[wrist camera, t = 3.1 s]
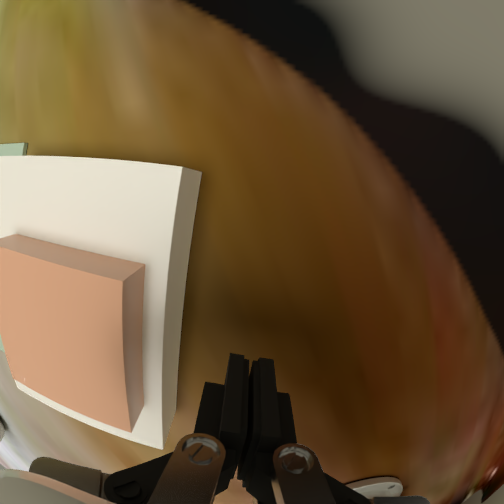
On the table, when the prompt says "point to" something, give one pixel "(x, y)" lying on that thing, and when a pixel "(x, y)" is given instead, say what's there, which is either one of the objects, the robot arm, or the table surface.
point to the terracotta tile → (74, 327)
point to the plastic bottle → (1, 431)
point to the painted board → (116, 251)
